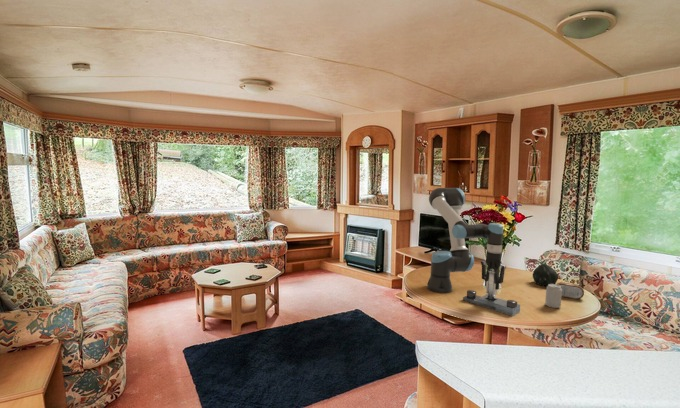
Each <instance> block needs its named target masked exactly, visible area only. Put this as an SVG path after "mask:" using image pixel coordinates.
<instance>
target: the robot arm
mask: <svg viewBox="0 0 680 408" xmlns="http://www.w3.org/2000/svg"><path fill="white" fill-rule="evenodd" d="M428 196H429V197H428V202H429V205H430V206H431V208H432V209H433V210H436V211H437V213H439V215H440V216H441V217H442V218H443V219H444V221H445V222H446V223H447V224H448V231H449V232H448V233H449V240H450V246H451V248H450V250H437V251H434V252H432V255H431V259H430V262H431V263H430V277H429V279H428V282H427V284H426V288H427V289H428V290H429V291H431V292H435V293H439V294H441V293H442V294H443V293H444V294H445V293H451V292H452V291H453V285H452V280H451V273H458V272H459V273H461V272H462V273H464V272H470V271H471V270H472V269H473V267H474V265H475V257H474V255H473V254H472V253H471V252H470V250H469V248H467V247H466V241H465V240H466V239H486V240H487V241H486V243H487V244H486V259H485V260H481V261H480V265H481V279H482V280H484V287H485V294H488V282H489V272H488V270H494V272H495V283H494V291H493V295H495V296H497V295H498V290H499V288H500V284H503V283H504V278H505V270H506V269H507V265H504V264H502V263H503V262H502V252H503V241H504V240H503V237H504V225H503V223H497V222H490V223H488V224H485V223H480V222H479V223H475V224H467V223H466V221H464V219H463V218H462V212H461V210H462V209H463V206H464V205H465V201H466V195H465V193H464V191H463V189H461V188H459V187H437V188H435V189H432V191H431V192H430V193H429V195H428ZM460 215H461V216H460ZM499 268H500V269H499Z"/></svg>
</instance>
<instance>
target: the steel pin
mask: <svg viewBox="0 0 680 408" xmlns="http://www.w3.org/2000/svg"><path fill="white" fill-rule="evenodd" d="M488 272H489V280H488V281H489V282H488V293H487V295H488V297H487V300H490V301H494V298H495V297H496V295H493V291H494V283H495V272H494V269H492V270H488Z"/></svg>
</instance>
